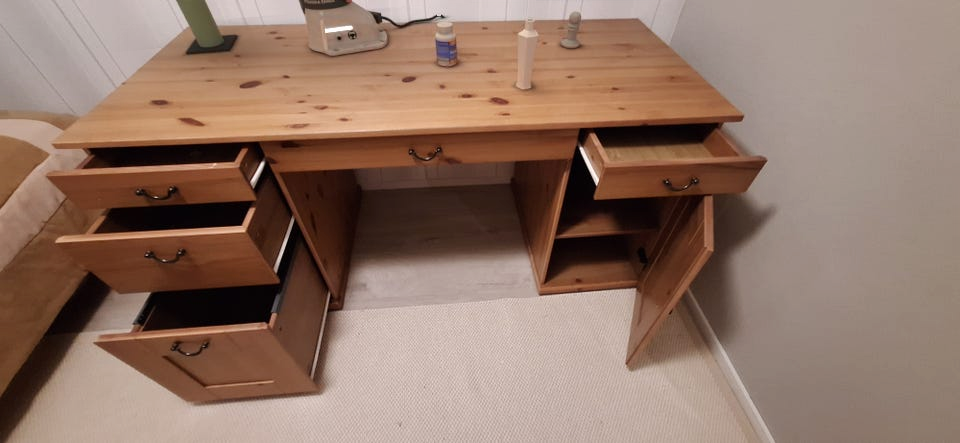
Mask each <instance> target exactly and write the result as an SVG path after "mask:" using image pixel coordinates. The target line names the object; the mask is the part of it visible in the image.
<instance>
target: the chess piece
mask: <svg viewBox="0 0 960 443" xmlns="http://www.w3.org/2000/svg"><path fill="white" fill-rule="evenodd" d="M581 20H582V14H581V13H580V12H579V11H576V10H575V11H573V12H571V13H570V14H569V17H568V23H567V26H566V30H567V34H566V37H565V38H564V39H562V40H561V41H560V45H561V46H562V48H566V49H576V48H578V47H579V46H580V42H579V40H578V39H577V36H578V31H579V30H580V27H581V25H580V23H581Z"/></svg>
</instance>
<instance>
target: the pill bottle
mask: <svg viewBox="0 0 960 443" xmlns="http://www.w3.org/2000/svg"><path fill="white" fill-rule="evenodd" d="M436 30H437V32H436V33H435V35H434V42H435V52H436V53H435V54H436V63H437V64H438V65H439V66H441V67H453V66H455V65H457V63H458V49H457V34H456V33H455V32H454V25H453V23H452V22H451V21H440V22H437V24H436Z"/></svg>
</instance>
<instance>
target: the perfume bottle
mask: <svg viewBox="0 0 960 443" xmlns="http://www.w3.org/2000/svg"><path fill="white" fill-rule="evenodd" d="M524 22H525V23H524V29H522V30H521V31H520V32H518V33H517V80H516V83H515V87H516V88H518V89H520V90H522V91H523V90H528V89H532V82H531V81H532V75H533V69H534V63H535V57H536V54H537V53H536V52H537V47H538V42H539V37H540V36H539V33H538V32H537V30H536V29H534V26H535V22H536V21H535V19H534V18H526V19H524Z"/></svg>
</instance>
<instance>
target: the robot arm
mask: <svg viewBox="0 0 960 443" xmlns="http://www.w3.org/2000/svg"><path fill="white" fill-rule="evenodd" d="M298 3H299V7H300V9H301V11H302V14H303V15H304V19H305V23H306V28H307V29H306V32H307V38H308V39H307V40H308V41H307V42H308V45H307V46H308V48H309V49H310V50H312V51H315V52H318V53H322V54H325V55H328V56H330V57H336V56H341V55H348V54H354V53H360V52H365V51H374V50H377V49H382V48H384V47H386V45H387V44H388V43H389V38H388V34H387V31H386V30H384V29H383V28H381V27H379V26H378V25H380V24H382V23H383V20H385V21H387V22H389V23H390V24H391V25H393V26H394V27H396V28H398V29H399V28H401V29H402V28H406V27H408V26H409V25H412V24H418V23H425V22H431V21H433V20H435V19H437V18H442V19H446V17H445V16H444V15H443V14H441V16H437V14H435V15H433V16H431V17H428V18H421V19H420V18H419V19H413V20H410V21H408V22H406V23H404V24H398V23H396V22H395V21H394V20H392V19H390V18H389V17H386V16H383V15H382V12H378V11H371V10H367V9H365V8H364V7H362V6H361V5H359V4H357V3H356V2H354V0H298Z"/></svg>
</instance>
